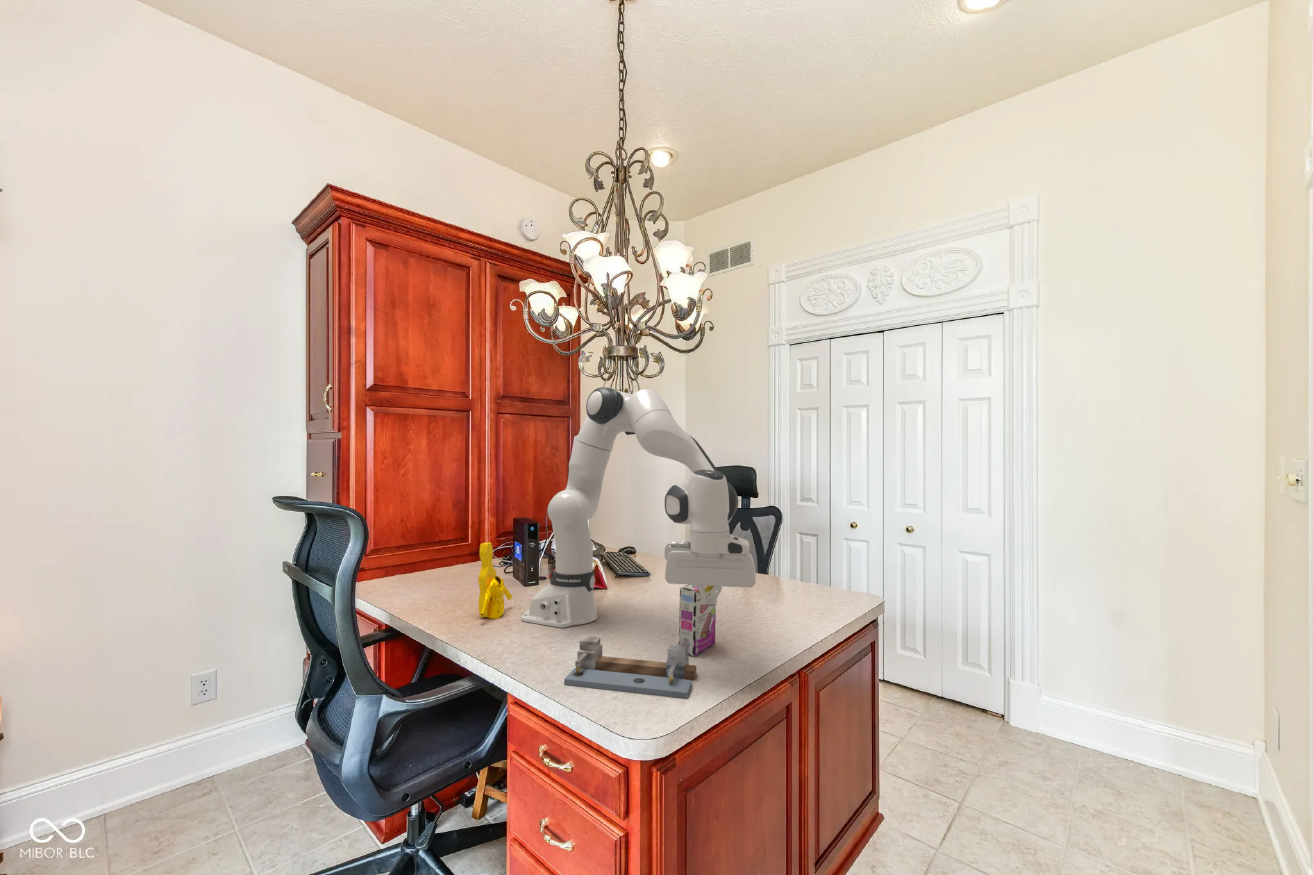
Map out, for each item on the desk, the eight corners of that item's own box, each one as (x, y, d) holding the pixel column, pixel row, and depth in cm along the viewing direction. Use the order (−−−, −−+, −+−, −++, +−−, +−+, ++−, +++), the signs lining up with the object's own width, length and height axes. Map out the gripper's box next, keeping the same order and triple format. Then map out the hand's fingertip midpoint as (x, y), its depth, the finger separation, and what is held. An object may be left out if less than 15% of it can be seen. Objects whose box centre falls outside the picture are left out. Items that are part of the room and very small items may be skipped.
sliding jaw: (661, 688, 114) (661, 660, 114) (671, 667, 124) (671, 641, 124) (679, 690, 113) (679, 662, 113) (688, 669, 123) (688, 643, 123)
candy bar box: (695, 657, 131) (695, 590, 131) (678, 653, 134) (678, 587, 134) (716, 643, 140) (717, 581, 140) (700, 639, 143) (700, 578, 143)
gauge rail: (568, 679, 118) (568, 651, 118) (586, 660, 129) (586, 634, 129) (689, 693, 112) (689, 662, 112) (697, 671, 123) (697, 644, 123)
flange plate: (564, 684, 116) (564, 678, 116) (574, 673, 122) (574, 667, 122) (686, 698, 110) (687, 692, 110) (691, 685, 116) (691, 679, 116)
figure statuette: (488, 626, 153) (488, 549, 153) (463, 624, 155) (464, 548, 155) (517, 607, 170) (518, 538, 171) (495, 606, 172) (495, 537, 172)
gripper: (661, 543, 119) (662, 606, 119) (754, 546, 115) (755, 611, 114) (667, 539, 125) (667, 598, 125) (755, 541, 121) (756, 603, 120)
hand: (710, 604), depth 120 cm, fingers closed
